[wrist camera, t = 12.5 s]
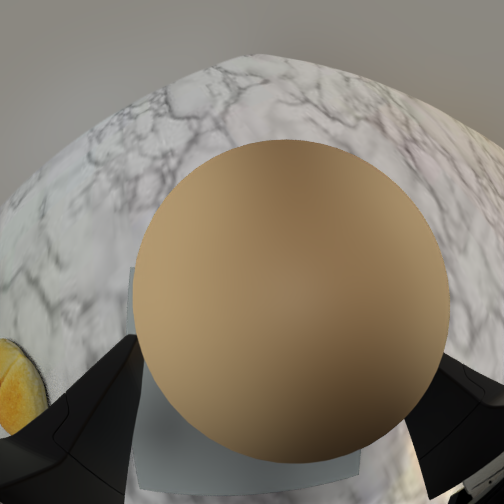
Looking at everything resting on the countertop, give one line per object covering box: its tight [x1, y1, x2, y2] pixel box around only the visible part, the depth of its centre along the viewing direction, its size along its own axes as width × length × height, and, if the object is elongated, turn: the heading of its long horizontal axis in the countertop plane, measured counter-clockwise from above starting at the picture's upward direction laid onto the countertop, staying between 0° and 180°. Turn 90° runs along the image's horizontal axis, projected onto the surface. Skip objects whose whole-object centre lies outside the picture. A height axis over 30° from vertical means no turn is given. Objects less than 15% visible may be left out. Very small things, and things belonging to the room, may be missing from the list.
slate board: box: [126, 267, 361, 496], centre depth 16 cm, size 16×16×2 cm
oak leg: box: [133, 140, 450, 464], centre depth 12 cm, size 6×6×15 cm
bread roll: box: [0, 338, 48, 435], centre depth 12 cm, size 8×9×4 cm
